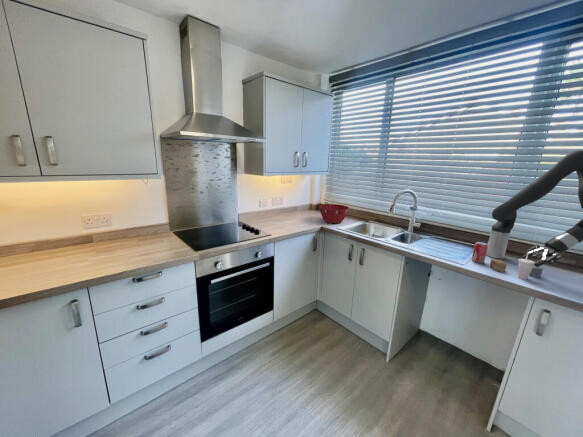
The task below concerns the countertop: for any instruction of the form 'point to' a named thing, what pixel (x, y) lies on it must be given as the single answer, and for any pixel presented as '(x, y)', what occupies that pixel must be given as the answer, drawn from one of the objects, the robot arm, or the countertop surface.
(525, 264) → the smoothie
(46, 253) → the countertop surface
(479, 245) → the soda can
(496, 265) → the walnut block
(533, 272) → the charcoal block
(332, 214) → the mixing bowl
